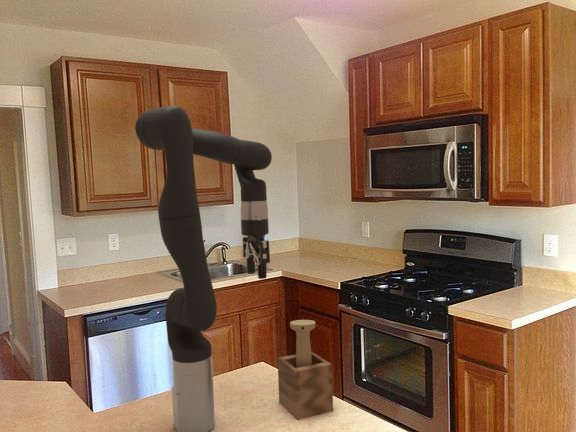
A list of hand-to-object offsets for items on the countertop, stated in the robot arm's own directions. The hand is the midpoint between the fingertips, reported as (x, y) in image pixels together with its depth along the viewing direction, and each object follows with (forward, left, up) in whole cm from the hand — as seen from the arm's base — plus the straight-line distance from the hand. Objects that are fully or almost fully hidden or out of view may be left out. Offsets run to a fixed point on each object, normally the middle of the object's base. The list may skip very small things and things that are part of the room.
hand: (256, 275), depth 140 cm
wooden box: (+6, -16, -32) cm, 36 cm away
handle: (+6, -16, -25) cm, 30 cm away
